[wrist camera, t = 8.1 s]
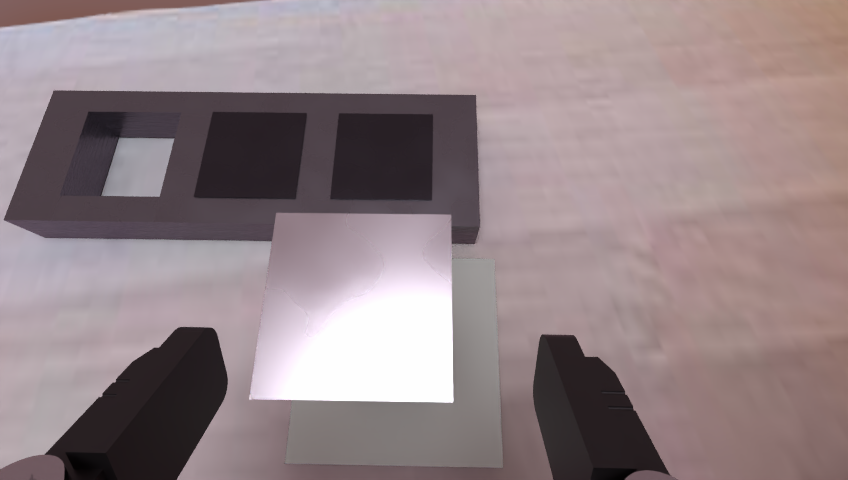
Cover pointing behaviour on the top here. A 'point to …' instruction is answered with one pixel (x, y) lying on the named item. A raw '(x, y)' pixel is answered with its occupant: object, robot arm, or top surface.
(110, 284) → the top surface
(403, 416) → the mat
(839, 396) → the top surface
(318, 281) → the steel plug
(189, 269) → the top surface
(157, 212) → the dark grey slotted tray
